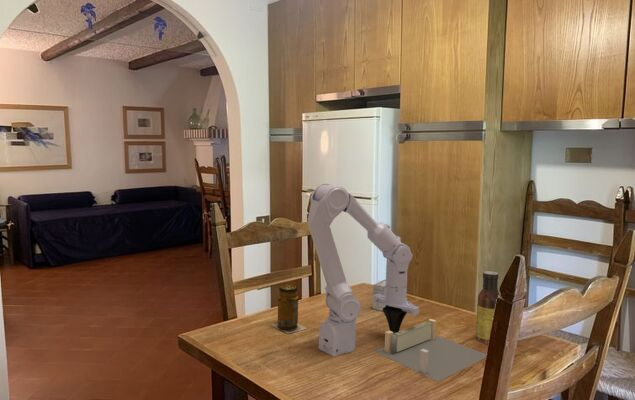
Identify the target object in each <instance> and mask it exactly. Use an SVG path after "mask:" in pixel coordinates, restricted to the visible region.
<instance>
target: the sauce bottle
mask: <svg viewBox="0 0 635 400" xmlns="http://www.w3.org/2000/svg"><path fill="white" fill-rule="evenodd" d="M482 278H483V279H482V280H483V281H482V289H481V291H479V293H478V295H477V305H476V306H477V308H476V327H475V336H476V337H475V338H476V340H477V341H478V342H480V343H482V344H484V345H485V344H486V345H489V344H488V341H489V336H490V330H491V325H492V318H493V315H494V309H495V304H496V299H497V297H498V295H500V293H499V289H498V280H499V272H496V271H493V270H492V271H491V270H490V271H489V270H487V271H486V270H485V271H483V273H482Z"/></svg>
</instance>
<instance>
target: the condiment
mask: <svg viewBox="0 0 635 400" xmlns="http://www.w3.org/2000/svg"><path fill="white" fill-rule="evenodd" d="M278 290H279V291H278V294H279V295H278V296H277V323H273V324H271V326H272V327H273V328H275V329H277V330H279V331H282V332H283V333H285V334H292V333H296V332H301V331H304V330H307V329H308V328H307V327H305V326H304V325H302V324H299V323H298V322H299V321H298V320H299V296H298V287H297V286H295V285H289V284H286V285H281V286H280V287H279V289H278Z"/></svg>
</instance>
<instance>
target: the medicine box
mask: <svg viewBox="0 0 635 400" xmlns="http://www.w3.org/2000/svg"><path fill="white" fill-rule="evenodd" d="M385 291H386V279H383V280H381V281H378V282H376V283H374V284H373V287H372V309H373V310H376V311H380V312H383V308H385V307H386V304H383V303H380V302H375V301H374V295H375V294H382V295H385Z"/></svg>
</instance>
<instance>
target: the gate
mask: <svg viewBox="0 0 635 400" xmlns="http://www.w3.org/2000/svg"><path fill="white" fill-rule="evenodd" d="M431 324H432V323H430V322H428V321H425V322H423V323H420V324H416V325H413V326H412V327H411V326H410V327H408V328H406V329H403V330H401V331H400V330H399V332H397V333H394V334H392V348H391V352H392V353H395V351H396V352H399V351H402V350H404V349H407V348H409V347H412V346H414V345H417V344H419V343H422V342H424V341H427V340H429V339H431Z"/></svg>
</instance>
